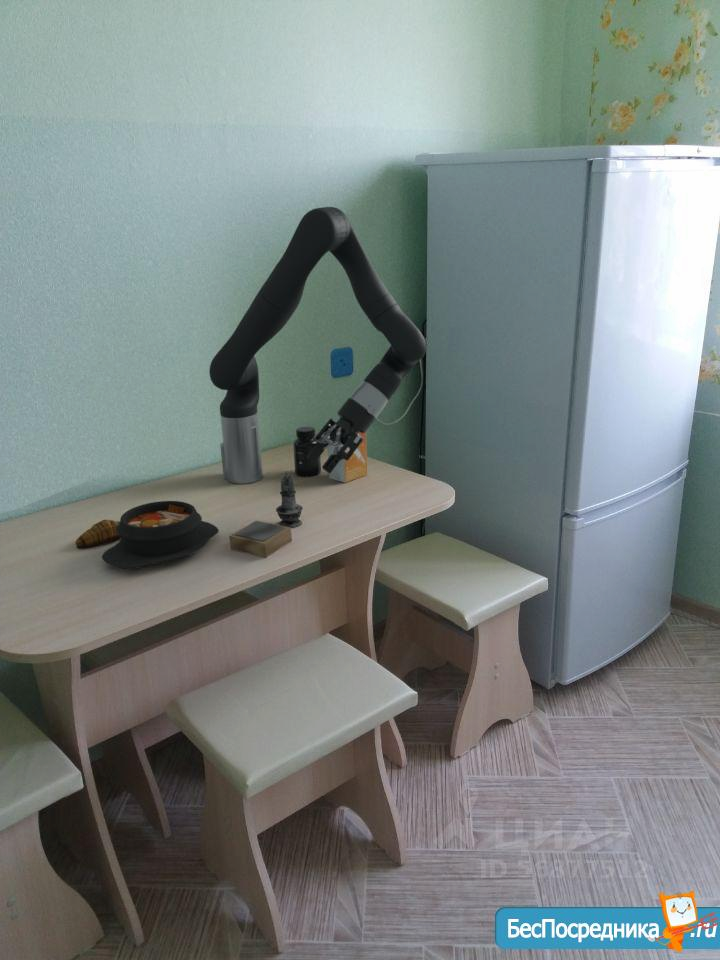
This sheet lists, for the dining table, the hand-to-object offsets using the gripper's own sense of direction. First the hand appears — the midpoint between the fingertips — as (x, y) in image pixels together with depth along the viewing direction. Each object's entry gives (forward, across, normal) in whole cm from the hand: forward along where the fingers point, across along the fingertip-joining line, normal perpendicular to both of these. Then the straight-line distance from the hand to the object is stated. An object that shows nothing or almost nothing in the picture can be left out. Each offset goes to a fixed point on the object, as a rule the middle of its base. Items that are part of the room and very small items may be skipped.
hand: (317, 465), depth 172 cm
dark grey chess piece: (+14, 0, +4) cm, 14 cm away
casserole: (+34, 0, -16) cm, 38 cm away
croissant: (+41, -12, -23) cm, 48 cm away
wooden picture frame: (+20, +8, -3) cm, 22 cm away
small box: (-3, -22, +21) cm, 30 cm away
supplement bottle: (+3, -30, +15) cm, 33 cm away
